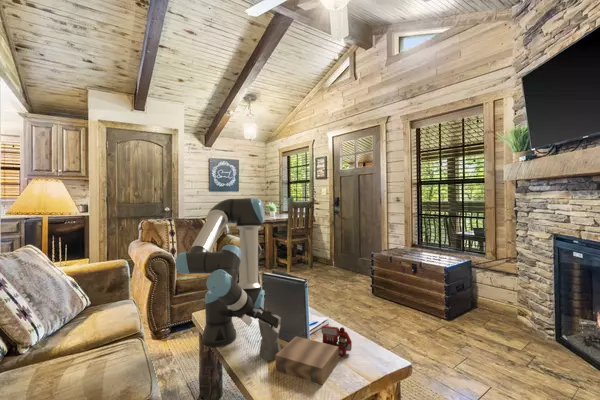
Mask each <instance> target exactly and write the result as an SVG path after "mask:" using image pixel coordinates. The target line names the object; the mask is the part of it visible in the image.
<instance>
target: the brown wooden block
mask: <svg viewBox="0 0 600 400" xmlns="http://www.w3.org/2000/svg"><path fill="white" fill-rule="evenodd" d="M339 359H340V356H339V347H338V346H334V345H330V344H326V343H323V341H322V342H321V341H317V340H313V339H309V338H305V337H300V336H297V335H296V336H295V337H293V338H292V339H291V340H290V341H289V342H288V343H287V344H286V345H284V347H283V348H281V350H280V351H279V352H278V353H277V354H276V355H275V360H274V361H275V371H276V372H278V373H281V374H285V375H286V376H287V375H288V376H291V377H294V378H296V379H300V380H304V381H306V382H309V383H313V384H315V385H319V386H323V385H324V384H325V382H326V381H327V380H328V378H329V376H330V375H331V374H332V372H333V371H334V369H335V368H336V366H337V365H338V363H339V361H340V360H339Z"/></svg>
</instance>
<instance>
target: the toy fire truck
mask: <svg viewBox="0 0 600 400" xmlns="http://www.w3.org/2000/svg"><path fill="white" fill-rule="evenodd" d="M321 334H322V343H326V344H330V345H334V346H338V347H339V358H343V357H345V356H346V355H347V352H351V351H352V339H351V338H350V336H349V335H350V334H349V333H348V332H347V331H346V329H345V328H344V327H340V328H339V327H337V326H330V325H322V326H321Z"/></svg>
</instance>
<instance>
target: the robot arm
mask: <svg viewBox="0 0 600 400" xmlns="http://www.w3.org/2000/svg"><path fill="white" fill-rule="evenodd" d="M265 220H266V219H265V209H264V204H263V201H262V200H261V199H260V198H253V197H250V198H249V197H248V198H246V197H245V198H227V199H224V200H222V201H220V202H218V203H216V204H215V205H214V206H213V207H212V208H211V209H210V210H209V211H208V213H207V215H206V221H205V223H204V225H202V228H201V229H200V231H199V233H198V235H197V236H196V238H195V239H194V241H193V243H192V245H191V246H190V248H189V250H188V251H183V252H180V253H178V254H177V256H176V258H175V259H176V260H175V269H176V271H177V273H179V274H187V275H195V274H201V275H202V274H209V277H207V279H206V283H205V284H206V288H207V292H206V293H205V296H204V306H205V307H204V308H205V310H204V311H205V326H204V330H203V333H202V336H201V342H202V344H203V345H204V346H205V347H210V348H219V347H224V346H227V345H229V344H232V343H233V342H234V341H235V340H236V339H237V330H236V328H235V325H234V323H233V318H238V319H240V320H242V321H243V323H244V324H246V325H247V327H250V326H251V324H252V321H253V319H255V320H256V319H258V320H259V319H260V320H261V321H263V322H265V323H267V324H269V326H270V328H272V329H273V330H274V331H275V332H276V333H278V332H279V333H280V331H279V329H280V330H281V324H280V325H279V324H278V321H279V319H278V318H276V317H274V316H273V315H274V314H272V313H271V314H270V313H268V312H267V311H268V310H265V309H264V303H265V298H264V295H265V292H266V291H265V290H264V289H263V288H262V285H261V284H260V282H259V230H260V229H261V227H262V224H263V223H265V222H266V221H265ZM228 224H236V228H237V229H238V230H239V246H237V245H234V244H227V245H224V246H222V248H221V250H220V251H213V249H214V246H215V244H216V242H217V241H218V239H219V236H220V234H221V232H222V230H223V228H225V227H226V226H227V225H228ZM238 276H239V277H238ZM237 281H238V283H237Z"/></svg>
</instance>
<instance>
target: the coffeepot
mask: <svg viewBox="0 0 600 400" xmlns="http://www.w3.org/2000/svg"><path fill="white" fill-rule="evenodd" d="M266 311H267V312H268V313H270V314H271V315H273V316H274V317H276V318H278V319H279V321H278V324H279V325H280V326H281V322H282V317H281V316H279V315H278V314H272V311H270V310H266ZM257 322H258V327H259V333H260V337H261V342H260V347H259V353H258V356H259V357H260V360H261V359H262V360H263V361H265V362H273V361H276V360H275V355H276V354H277V353H278V352H279V351H280V350H282V347H281V341H280V338H279V336H280V335H279V334H280V330H281V328H280V329H279V332H278V333H276V332H275V331H274V330H273V329H272V328H270V326H269V324H267V323H265V322H263V321H261V320H260V319H258V321H257Z"/></svg>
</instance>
